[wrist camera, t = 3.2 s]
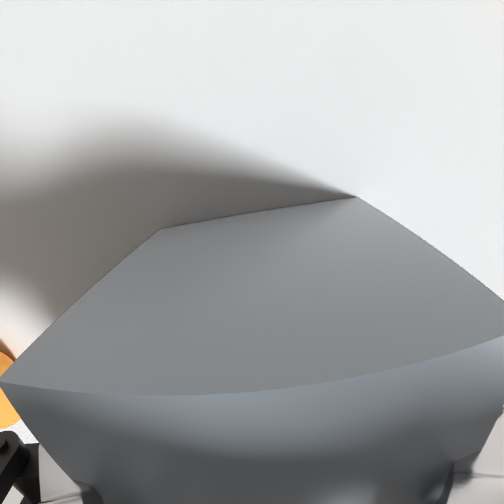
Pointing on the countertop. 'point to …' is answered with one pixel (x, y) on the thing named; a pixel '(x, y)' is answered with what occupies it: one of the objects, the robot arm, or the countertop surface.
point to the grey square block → (270, 365)
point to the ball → (3, 412)
